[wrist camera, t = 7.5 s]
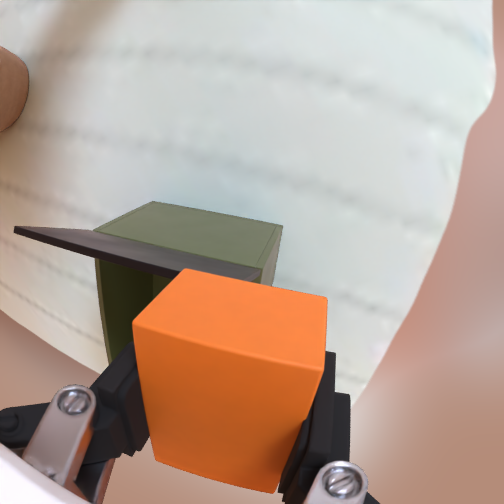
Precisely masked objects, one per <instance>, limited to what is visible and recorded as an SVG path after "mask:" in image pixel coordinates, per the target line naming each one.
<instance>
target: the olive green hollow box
mask: <svg viewBox="0 0 504 504" xmlns="http://www.w3.org/2000/svg"><path fill="white" fill-rule="evenodd" d="M282 229H283V226H282V225H278V224H273V223H268V222H263V221H258V220H253V219H247V218H242V217H237V216H232V215H227V214H221V213H216V212H211V211H205V210H200V209H194V208H189V207H183V206H178V205H172V204H166V203H161V202H155V201H152V202H150V203H147V204H145V205H143V206H141V207H139V208H137V209H135V210H133V211H130V212H128V213H126V214H124V215H122V216H120V217H118V218H116V219H114V220H112V221H110V222H108V223H106V224H104V225H102V226H100V227H98V228H96V229H94V230H93V231H95V232H99V233H103V234H108V235H112V236H116V237H120V238H124V239H129V240H133V241H137V242H141V243H146V244H150V245H154V246H159V247H163V248H167V249H172V250H176V251H180V252H185V253H189V254H193V255H198V256H202V257H207V258H211V259H216V260H220V261H224V262H229V263H233V264H238V265H242V266H247V267H251V268H256V269H260V270H261V271H260V275H259V276H258V277H257V278H255V279H254V280H252V281H251V282H252V283H257V284H262V285H267V286H272V284H273V279H274V273H275V268H276V262H277V257H278V251H279V246H280V240H281V235H282ZM95 269H96V280H97V289H98V298H99V306H100V314H101V321H102V328H103V334H104V340H105V346H106V352H107V357H108V362H109V365H110V363H111V362H112V361H113V360H114V359H115V358H116V357H117V355H118V354H119V353H120V352H121V351H122V350H123V349H124V348H125V346H126V345H127V344H128V343H130V342H132V341H133V342H134V338H133V329H132V322H133V320H134V319H135V318H136V317H137V316H138V315H139V314H140V313H141V312H142V311H143V310H144V309H145V308H146V307H147V306H148V305H149V304H150V303H151V302H152V301H153V300H154V298H155V297H156V296H157V295H158V294H159V293H160V292H161V291H162V290H163V289H164V288H165V287H166V286H167V285H168V284H169V283H170V282H171V281H172V280H173V279H169V278H165V277H161V276H157V275H154V274H150V273H146V272H143V271H139V270H135V269H132V268H128V267H125V266H121V265H117V264H114V263H110V262H107V261H103V260H100V259H96V258H95Z"/></svg>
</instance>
